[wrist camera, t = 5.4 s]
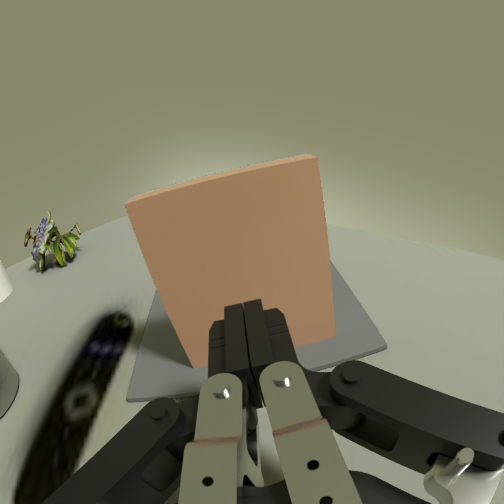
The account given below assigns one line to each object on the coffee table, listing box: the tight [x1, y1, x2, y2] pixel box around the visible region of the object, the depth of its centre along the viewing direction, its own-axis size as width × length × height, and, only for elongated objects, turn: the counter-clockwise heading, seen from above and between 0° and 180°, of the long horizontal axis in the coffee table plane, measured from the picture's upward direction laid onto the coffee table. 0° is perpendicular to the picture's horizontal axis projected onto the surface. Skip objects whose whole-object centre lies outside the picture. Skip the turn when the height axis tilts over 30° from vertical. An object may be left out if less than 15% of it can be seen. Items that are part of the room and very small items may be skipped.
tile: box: [125, 154, 335, 368], centre depth 17 cm, size 10×2×12 cm, turn 96°
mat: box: [126, 261, 387, 402], centre depth 26 cm, size 18×18×1 cm
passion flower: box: [24, 211, 81, 271], centre depth 47 cm, size 11×11×12 cm
